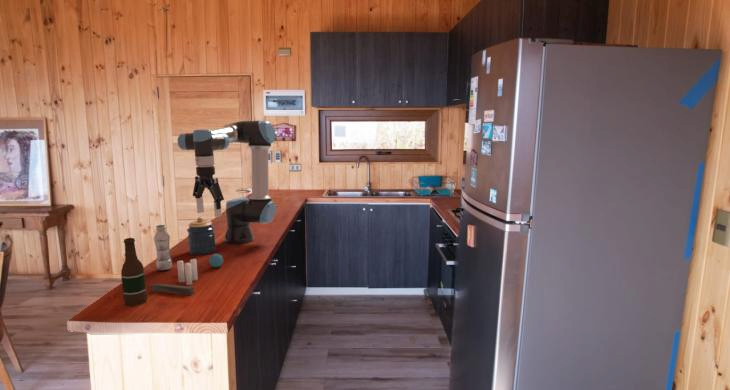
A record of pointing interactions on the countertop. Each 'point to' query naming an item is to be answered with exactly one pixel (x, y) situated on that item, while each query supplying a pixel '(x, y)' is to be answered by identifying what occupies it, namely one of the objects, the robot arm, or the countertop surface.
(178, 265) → the back pin
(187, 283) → the pin
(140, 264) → the beer bottle
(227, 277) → the countertop surface
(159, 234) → the plastic bottle
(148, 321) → the countertop surface
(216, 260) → the ball
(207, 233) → the canister
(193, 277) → the front pin
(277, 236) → the countertop surface
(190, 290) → the dark grey rod
